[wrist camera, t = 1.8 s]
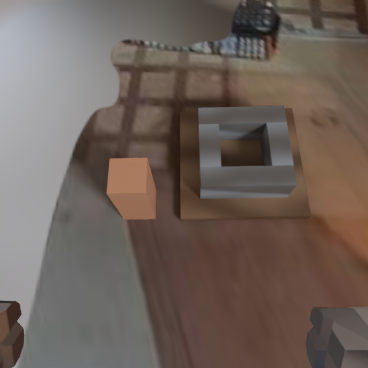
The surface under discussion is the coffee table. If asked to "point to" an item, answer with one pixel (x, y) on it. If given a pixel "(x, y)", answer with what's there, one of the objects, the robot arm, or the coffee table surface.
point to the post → (132, 188)
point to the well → (241, 164)
